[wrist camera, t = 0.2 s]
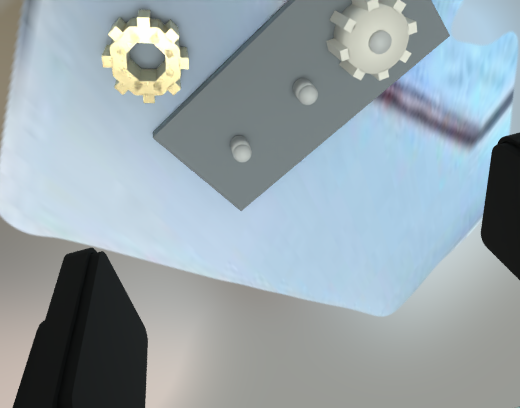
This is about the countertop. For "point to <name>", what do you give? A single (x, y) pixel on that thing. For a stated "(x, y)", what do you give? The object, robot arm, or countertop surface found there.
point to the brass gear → (130, 72)
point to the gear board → (295, 88)
